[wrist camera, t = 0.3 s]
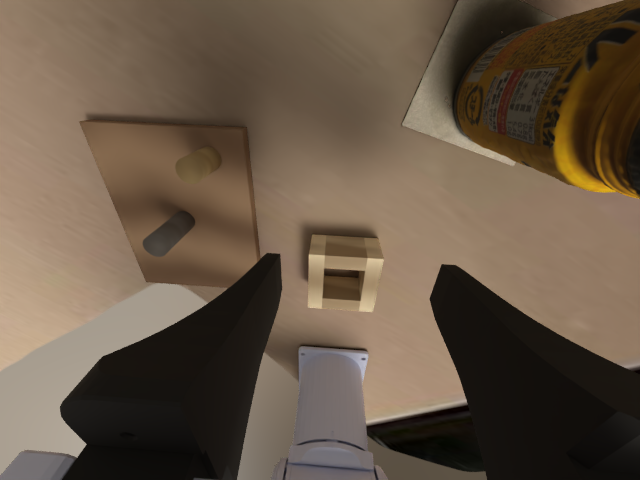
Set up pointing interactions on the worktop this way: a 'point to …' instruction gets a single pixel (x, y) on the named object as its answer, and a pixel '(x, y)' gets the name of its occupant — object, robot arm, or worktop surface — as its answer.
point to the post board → (181, 197)
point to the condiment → (539, 90)
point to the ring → (349, 257)
